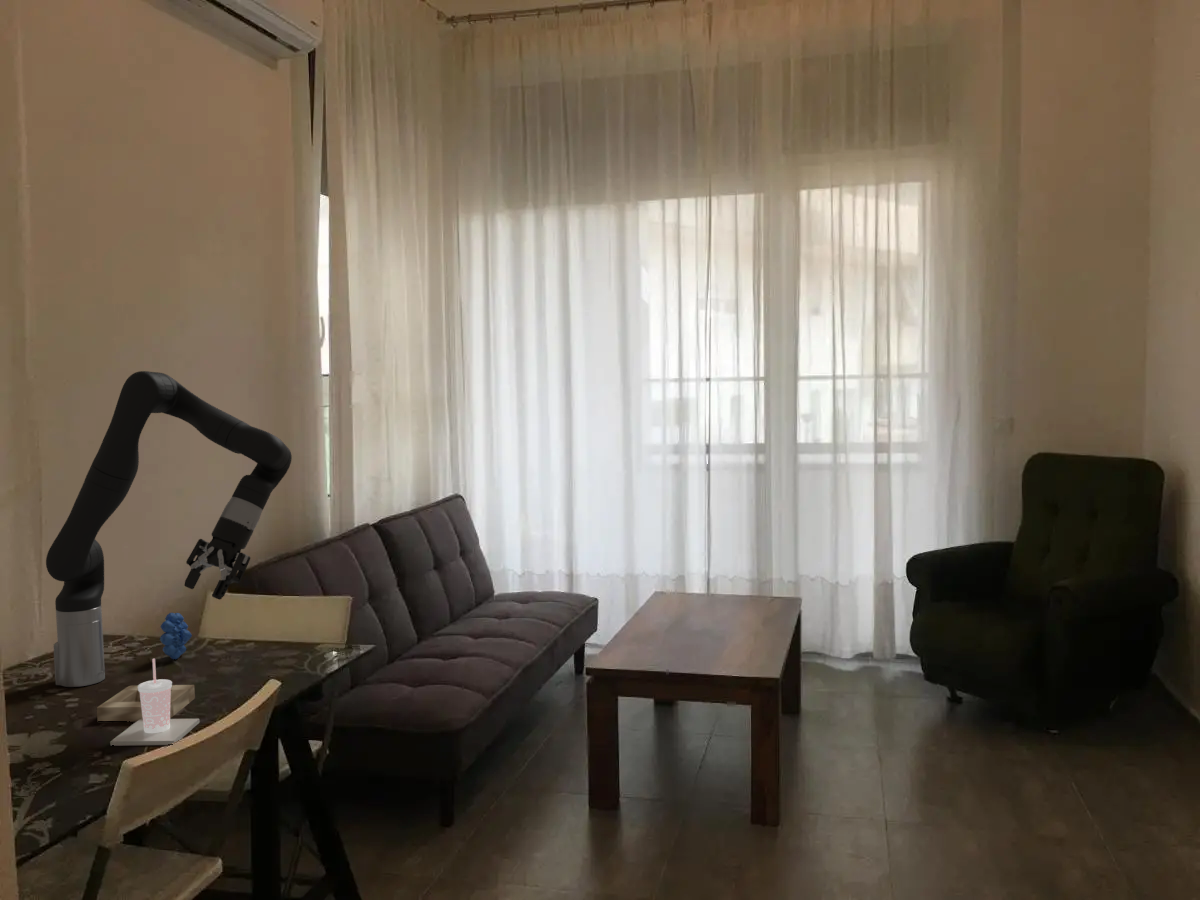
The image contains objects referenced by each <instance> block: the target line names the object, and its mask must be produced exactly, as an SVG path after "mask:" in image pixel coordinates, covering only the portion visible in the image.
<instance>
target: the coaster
mask: <svg viewBox="0 0 1200 900" xmlns="http://www.w3.org/2000/svg"><path fill="white" fill-rule="evenodd" d="M200 721H201V720H200V718H170V728H169V729H168V730H166V731H163V732H159V733H146V732H145V731H144V725H143V719H139V720H138V721H137V722H133V724H131V725H130V726H128V728H126V729H124V731H123V732H120V733H119V734H118V735H117V736H115V738H113V739H112V740H111V741H110V742H109V743H110V746H112V745H114V746H115V747H116V746H120V747H121V746H169V745H168V744H171V743H174V742H176V741H178V740H179V741H181V739H183V738H184V737H185V736H187V734H188V733H189V732H191V730H193V729H194V728H195V727H196V726H197V725H199V723H200ZM179 741H178V742H179Z"/></svg>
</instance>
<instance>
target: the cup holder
mask: <svg viewBox="0 0 1200 900" xmlns="http://www.w3.org/2000/svg"><path fill="white" fill-rule="evenodd" d="M195 693H196V691H195V684H172V687H171V699H170V719H172V718H173V717H174V716H175V715H177V714H178V713H179V712H180V711H181V710H183V708H185V707H186V706H188V704H189V705H190V703H191V702H193V700H195V699H196V694H195ZM96 716H97V717H96V719H97V722H98V721H127V722H128V723H129V721H130V722H133V723H135V722H137V721H138V720H139V719H143V717H142V708H141V700H140V692H139V691H138V685H128V686H126V687H125V688H124V689H122V690H120V691H119V692H118V693H116V694H114V695H113V696H112V697H111V698H109V699H108V700H106V701H105V702H103V703H101V704H100V705H98V706H97V707H96Z"/></svg>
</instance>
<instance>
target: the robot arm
mask: <svg viewBox="0 0 1200 900" xmlns="http://www.w3.org/2000/svg"><path fill="white" fill-rule="evenodd" d="M151 414H165V415H169V416H171V417H174V418H178V419H179V420H180V419H181V420H182V421H184V422H185V423H187V424H189V425H191V426H192V427H194V428H195V429H196V430H197V431H198V432H199V433H200V434H201V435H202V436H204V437H205V438H206V439H208V440H209V441H211V442H212V443H215V444H216V445H219V446H220V447H222V448H224V449H226V450H228V451H229V452H232V453H235V454H238V455H242V456H244V457H246V458H248V459H249V460H252V461H253V462H255V463H256V465H255V466H254V469H252V471H251V473H250V474H245V475H243V476H242V478H241V479H240V480H239V481H238V484H237V485H236V488H235V489H234V491H233V493H232V495H231V497H230V499H229V500H228V502H227V504H226V505H225V506H224V508H223V510H222V511H221V515H220V516H219V518H218V520H217V521H216V524H215V526H214V528H213V530H212V532H211V537H212V539H211V540H210V542H208V541H206V540H205V539H203V538H199V539H198V540H197V541H196V543H195V545H194V547H193V549H192V551H191V552H190V553H189V556H188V558H187V559H186V564H187V565H188V566H189V567H190V571H189V573H188V575H187V577H186V578H185V580H184V586H185V588H188V589H190V590H194V589H195V587H196V585H197V583H198V582H199V579H200V577H201V575H202V572H203V571H205V570H206V569H207V568H212V566H213V567H217V568H218V569H219V571H220V576H221V577H220V579H219V580H218V581H217V584H216V586H215V588H214V590H213V592H212V594H211V596H212V598H213V599H216V600H217V599H218V600H220V601H221V600H222V599H223V598H224V597H225V595H226V593H227V591H228V590H229V589H228V588H229V587H230V585H231V584H233V583H237V584H239V583H241V581H242V579H243V576H244V575H245V572H246V570H247V567H248V565H249V564H250V561H251V556H249V555H248V554H246V553H244V552H242V550H244V549H246V547H247V546H248V544H249V541H250V539H251V537H252V536H253V533H254V531H255V530H256V527H257V525H258V523H259V521H260V519H261V516H262V513H263V511H264V510H265V509H264V508H265V506H266V505H267V504H268V503H267V502H268V500H269V499H270V497H271V494H272V492H273V490H275V488H276V487H277V486H278V485H279V483H281V481H282V479H283V478H284V477H285V476H286V474H287V473H288V470H289V469H290V466H291V464H292V460H293V459H292V457H293V456H292V453H291V450H290V449H289V446H287V444H285V442H283V441H282V440H281V439H280V438H279V437H278V436H276V435H274V434H273V433H270V432H269V431H265V430H263V429H260V428H257V427H255V426H251V425H250V424H249V423H247V422H245V421H244V420H241V419H239V418H237V417H235V416H234V415H231V414H229V413H227V412H226V411H224V410H221V409H219V408H218V407H216V406H214V405H213V404H210V403H208V402H206V401H205V400H203V399H202V398H201V397H198V396H197V395H195V393H193V392H191V391H190V390H189V389H188V388H186V387H185V386H183V385H182V384H181V383H180V382H178V381H177V380H175V379H174V378H173V377H172V376H170V375H168V374H166V373H163V372H157V371H148V370H139V371H136V372H133V373H132V374H131V375H129V376H128V378H127V379H126V380H125V381H124V383H123V385H122V387H121V390H120V393H119V397H118V400H117V403H116V405H115V408H114V411H113V415H112V418H111V420H110V423H109V426H108V428H107V430H106V432H105V434H104V437H103V439H102V441H101V444H100V446H99V448H98V451H97V453H96V454H95V457H94V459H93V461H92V463H91V464H90V467H89V469H88V471H87V474H86V476H85V478H84V481H83V482H82V485H81V488H80V490H79V492H78V495H77V496H76V499H75V501H74V503H73V506H72V507H71V510H70V512H69V514H68V516H67V519H66V521H65V522H64V523H63V525H62V527H61V529H60V531H59V533H58V534H57V536H56V538H55V539H54V540H53V542H52V544H51V546H50V547H49V549H48V551H47V554H46V559H45V565H46V571H47V572H48V574H49V575H50V576H51V578H53V580H54V579H55V580H56V581H59V582H63V586H62V588H61V590H60V592H59V594H58V595H57V596H56V598H55V603H54V604H55V618H56V619H55V620H56V634H57V635H56V640H57V642H55V643H54V644H53V661H54V678H55V686H61V687H67V688H74V687H75V688H76V687H84V686H85V687H86V686H91V685H95V684H97V683H98V684H99V683H100V682H102V681H104V680H105V679H106V674H105V673H106V668H105V651H104V633H103V632H104V631H103V613H102V611H103V610H102V597H103V593H104V590H105V558H104V557H105V556H104V551H103V548H102V546H101V544H100V543H99V542H98V541H97V540H96V537H97V535H98V533H99V532H100V530H101V528H102V527H103V526H104V524H105V523H106V522H107V520H109V518H110V517H111V516H112V515H113V514H114V512H115V511H117V509H118V508H119V506H121V504H122V503H123V501H124V499H125V498H126V497H127V495H128V493H129V491H130V489H131V487H132V484H133V482H134V481H135V478H136V476H137V473H138V469H139V463H140V461H139V459H140V457H139V443H140V437H141V435H142V431H143V429H144V427H145V425H146V423H147V421H148V419H149V418H150V415H151Z"/></svg>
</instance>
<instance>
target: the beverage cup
mask: <svg viewBox="0 0 1200 900" xmlns="http://www.w3.org/2000/svg"><path fill="white" fill-rule="evenodd" d="M151 661H152V678H153V679H152V680H147V681H144V682H141V683H139V684H138V685H137V686H138V691H139V692H140V700H141V708H142V717H143V725H144V731H145V732H146V733H159V732H163V731H166V730H168V729H169V728H170V719H171V718H170V699H171V687H172V685H173V681H172V680H170V679H167V678H166V679H165V678H164V679H163V678H161V679H157V671H156V670H157V668H156V658H152V660H151Z"/></svg>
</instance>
